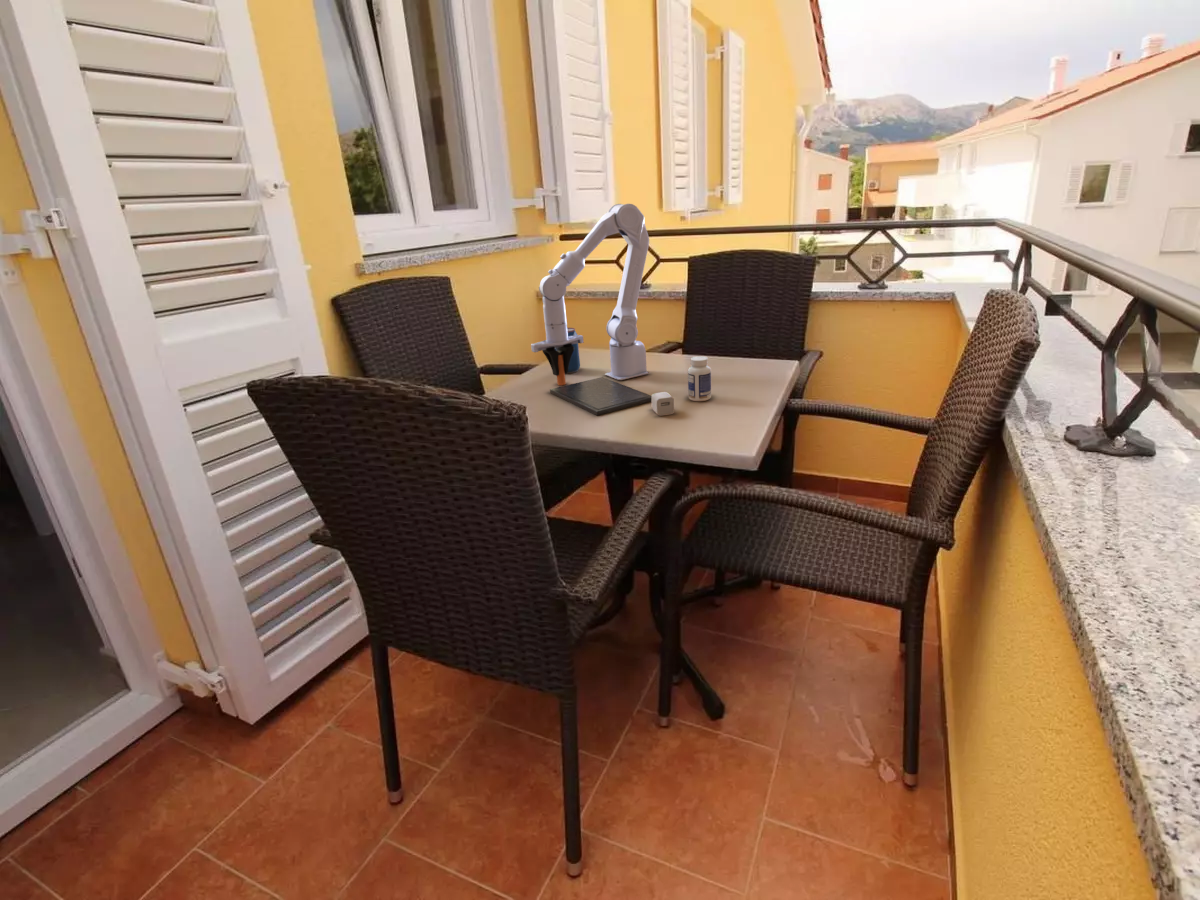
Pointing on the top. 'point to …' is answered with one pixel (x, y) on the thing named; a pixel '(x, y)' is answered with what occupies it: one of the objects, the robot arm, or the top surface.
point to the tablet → (601, 395)
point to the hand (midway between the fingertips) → (560, 373)
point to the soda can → (575, 358)
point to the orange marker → (561, 369)
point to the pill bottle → (699, 379)
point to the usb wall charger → (662, 403)
